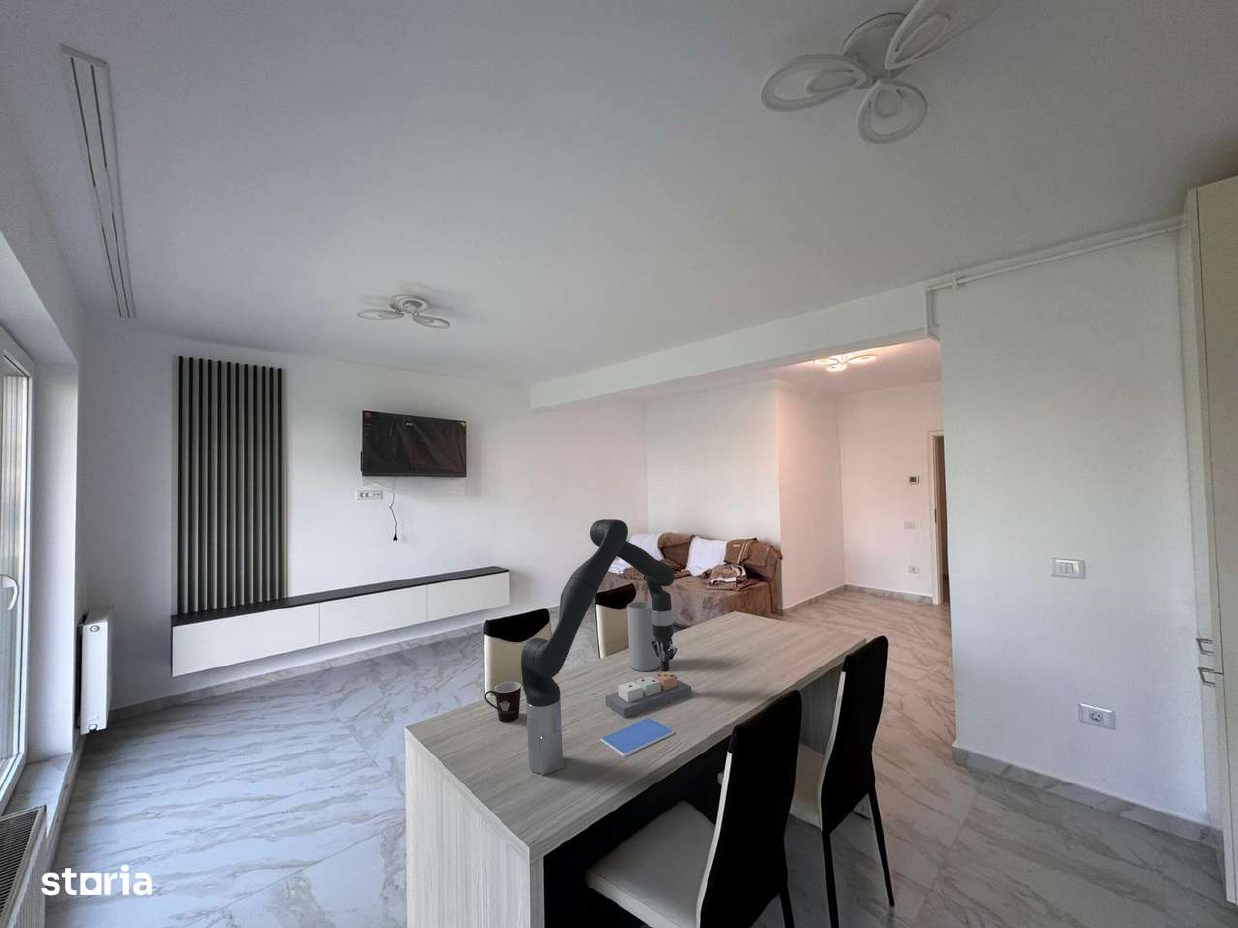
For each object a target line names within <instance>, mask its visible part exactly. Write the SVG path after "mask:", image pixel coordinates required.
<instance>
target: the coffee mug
mask: <svg viewBox="0 0 1238 928" xmlns="http://www.w3.org/2000/svg"><path fill="white" fill-rule="evenodd" d="M521 692H522V684H521V683H520V682H517V681H506V682H501V683H500V684H498V685H496V686H495V687H494V690H488V691H486V692H485V693H484V701H486V703H488V704H487V705H489V706H491V707H492V708H493V709H495V710H496V711H497V716H498V721H500V722H501V723H503V724H504V723H513V722H515V721H517V720H518V719H519V716H520V707H521V706H520V704H521V703H520V702H521ZM488 694H493V696H494V697H495V701H496V703H495V704H496V705H495V704H493V703H491V702H490V701H489V700H488V699H487V695H488Z"/></svg>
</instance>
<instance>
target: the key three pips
mask: <svg viewBox="0 0 1238 928" xmlns="http://www.w3.org/2000/svg"><path fill="white" fill-rule="evenodd" d="M653 678H655V679H657V680H658V681H660V685H661V689H662V690H664V691H665V690H668V689H671V688H674V687H677V686H678V680H679V679H678V675H677V674H674V673H672V672H670V671H667V672H664V671H662V672H659V673H656V674H653Z"/></svg>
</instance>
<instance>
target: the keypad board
mask: <svg viewBox="0 0 1238 928" xmlns="http://www.w3.org/2000/svg"><path fill="white" fill-rule="evenodd" d="M677 680H678V686H677V687H674V688H671V689H668V690H665V691H664V690H662V689H661V692H659V693H656V694H652V695H649V696H645V695H643V698H640V699H637V700H634V701H631V702H627V701H625V700H624V699H622V698H620V697H619V694H618V692H614V693H610V694H607V695H605V697H604V698H605V706H606V707H608V708H609V709H610V710H612V711H613V712H615V713H616V714H618V715H619V716H621V717H622V718H624V719H626V718H630V717H632V716H634V715H637V714H642V713H644V712H647V711H649V710H652V709H656V708H658V707H661V706H663V705H667V704H670V703H672V702H675V701H678V700H682V699H684V698H687V697H690V696H692V686H691V685H689V684H687V683H685V682H683V681H681V680H679V679H677Z"/></svg>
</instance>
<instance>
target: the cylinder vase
mask: <svg viewBox="0 0 1238 928" xmlns="http://www.w3.org/2000/svg"><path fill="white" fill-rule="evenodd" d="M626 612H627V631H628V635H627V636H628V653H629V656H628V657H629V667H630V668H631V669H632V670H634V671H637V672H649V671H654V670H656V669H658V668H660V666H661V660H660V658H659V657H657V655H656V653H655V651H654V648H653V646H652V644H651V641H654V640H655V636H653V628H652V601H634V602H630V603H628V604H627V605H626Z"/></svg>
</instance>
